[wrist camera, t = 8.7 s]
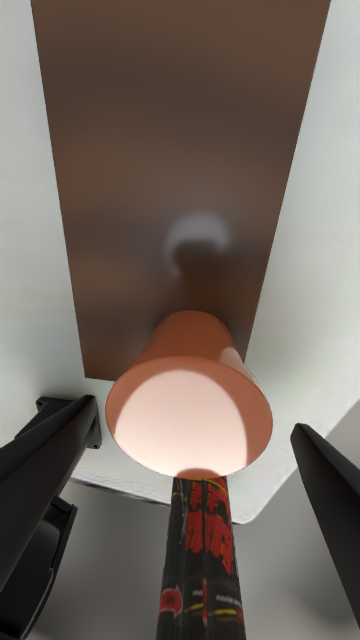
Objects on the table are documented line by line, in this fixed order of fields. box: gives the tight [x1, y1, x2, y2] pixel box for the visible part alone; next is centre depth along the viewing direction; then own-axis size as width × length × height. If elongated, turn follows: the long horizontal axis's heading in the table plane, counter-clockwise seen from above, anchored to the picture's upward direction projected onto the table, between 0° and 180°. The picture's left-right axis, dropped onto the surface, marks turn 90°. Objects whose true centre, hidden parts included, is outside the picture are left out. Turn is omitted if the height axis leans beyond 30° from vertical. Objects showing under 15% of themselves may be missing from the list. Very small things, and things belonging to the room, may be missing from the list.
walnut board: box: [31, 0, 331, 381], centre depth 12 cm, size 22×13×2 cm, turn 176°
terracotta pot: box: [105, 310, 273, 479], centre depth 11 cm, size 7×7×6 cm
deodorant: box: [156, 476, 246, 640], centre depth 14 cm, size 6×6×15 cm
